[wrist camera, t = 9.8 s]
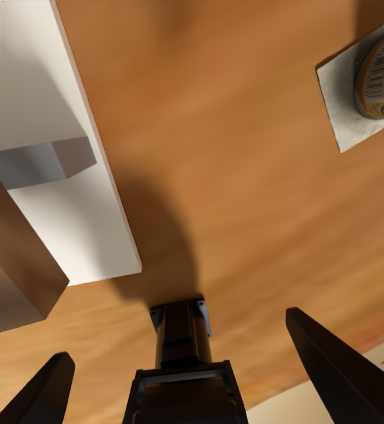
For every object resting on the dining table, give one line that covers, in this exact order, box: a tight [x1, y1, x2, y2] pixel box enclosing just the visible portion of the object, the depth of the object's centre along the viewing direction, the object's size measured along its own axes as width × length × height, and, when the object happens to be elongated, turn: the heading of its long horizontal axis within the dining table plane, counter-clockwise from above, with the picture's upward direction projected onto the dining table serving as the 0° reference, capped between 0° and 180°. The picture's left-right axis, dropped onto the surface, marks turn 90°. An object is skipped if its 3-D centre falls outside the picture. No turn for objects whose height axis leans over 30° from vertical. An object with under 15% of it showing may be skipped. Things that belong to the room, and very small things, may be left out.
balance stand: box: [0, 0, 142, 286], centre depth 14 cm, size 24×11×6 cm, turn 9°
